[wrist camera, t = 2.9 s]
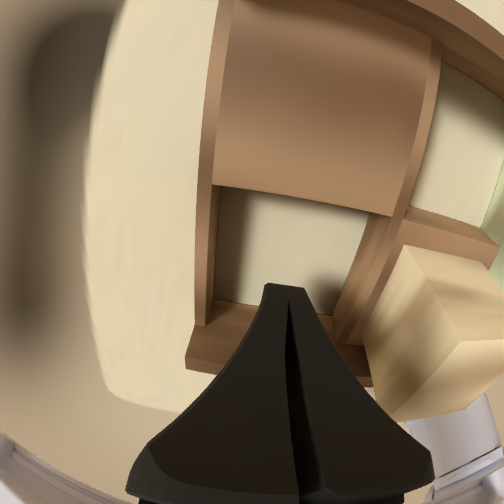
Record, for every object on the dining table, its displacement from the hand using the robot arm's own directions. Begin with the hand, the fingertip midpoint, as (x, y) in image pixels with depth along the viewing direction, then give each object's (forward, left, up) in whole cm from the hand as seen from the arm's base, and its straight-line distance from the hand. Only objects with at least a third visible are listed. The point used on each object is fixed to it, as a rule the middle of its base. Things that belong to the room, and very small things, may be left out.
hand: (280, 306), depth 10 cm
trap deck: (+3, -7, -4) cm, 8 cm away
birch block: (0, -7, -2) cm, 7 cm away
